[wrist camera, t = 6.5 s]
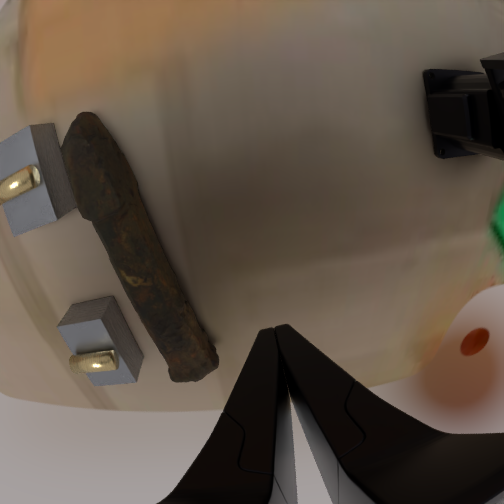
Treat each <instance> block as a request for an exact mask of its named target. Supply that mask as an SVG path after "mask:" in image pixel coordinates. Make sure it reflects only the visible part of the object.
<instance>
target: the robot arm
mask: <svg viewBox="0 0 504 504" xmlns="http://www.w3.org/2000/svg"><path fill="white" fill-rule="evenodd" d="M480 62H481V64H482V67H483V68H485V71H486V74H484V73H481V72H471V71H459V70H443V69H428V70H425V71H424V81H425V86H426V92H427V97H428V98H427V100H428V106H429V113H430V120H431V128H432V133H433V143H434V152H435V155H436V157H438V158H441V159H445V158H452V157H460V156H467V155H475V154H482V155H486V156H490V157H493V158H497V159H501V160H504V53H500V54H497V55H493V56H489V57H486V58H483V59H480ZM429 74H431V76H432V78H430V76H429ZM441 149H442V153H441V154H440V150H441ZM274 330H275V331H274ZM277 343H278V344H277ZM281 360H282V361H281ZM284 373H285V374H284ZM285 377H286V378H285ZM287 386H288V387H287ZM288 390H289V391H288ZM289 394H290V396H289ZM290 397H291V400H292V403H293V405H294V408H295V410H296V413H297V416H298V418H299V421H300V423H301V426H302V428H303V431H304V433H305V436H306V438H307V441H308V444H309V446H310V449H311V451H312V453H313V456H314V459H315V461H316V464H317V466H318V468H319V471H320V473H321V476H322V478H323V481H324V483H325V486H326V488H327V490H328V493H329V495H330V498H331V500H332V503H333V504H504V433H486V434H451V433H445V432H442V431H439V430H436V429H434V428H432V427H430V426H428V425H426V424H424V423H422V422H420V421H419V420H417V419H415V418H413V417H412V416H410V415H408V414H406V413H404V412H403V411H401V410H399V409H397V408H396V407H394V406H392V405H391V404H389V403H387V402H386V401H384V400H383V399H381V398H379V397H378V396H377V395H375V394H374V393H373V392H371V391H370V390H368V389H367V388H366V387H365V386H363V385H362V384H361V383H360V382H358V381H356V380H355V379H354V378H353V377H352V376H351V375H349V374H348V373H347V372H346V371H345V370H343V369H342V368H341V367H340V366H338V365H337V364H336V363H335V362H333V361H332V360H331V359H330V358H329V357H327V356H326V355H325V354H324V353H322V352H321V351H320V350H319V349H318V348H316V347H315V346H314V345H313V344H312V343H310V342H309V341H308V340H307V339H306V338H304V337H303V336H302V335H301V334H300V333H298V332H297V331H296V330H295V329H294V328H292V327H291V326H290V325H289V324H283V325H279V326H276V327H275V328H272V327H271V328H267V329H262V330H260V331H259V333H258V335H257V337H256V339H255V342H254V344H253V346H252V348H251V351H250V353H249V355H248V357H247V360H246V362H245V364H244V366H243V368H242V371H241V373H240V375H239V377H238V379H237V382H236V384H235V386H234V388H233V390H232V392H231V395H230V397H229V399H228V401H227V403H226V405H225V407H224V410H223V412H222V413H221V416H220V418H219V420H218V422H217V424H216V426H215V428H214V430H213V432H212V433H211V435H210V437H209V439H208V440H207V442H206V444H205V445H204V447H203V448H202V450H201V452H200V453H199V454H198V456H197V458H196V459H195V460H194V462H193V463H192V465H191V466H190V467H189V469H188V470H187V472H186V473H185V475H184V476H183V478H182V479H181V480H180V482H179V483H178V485H177V486H176V487H175V488H174V490H173V491H172V492H171V493H170V494H169V495H168V496H167V497H166V498H164V499H163V500H162V501H160V502H159V503H157V504H297V503H298V502H297V486H296V472H295V457H294V444H293V430H292V418H291V405H290Z"/></svg>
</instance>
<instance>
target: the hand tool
mask: <svg viewBox="0 0 504 504" xmlns="http://www.w3.org/2000/svg"><path fill="white" fill-rule="evenodd" d="M60 149H61V152H62V155H63V159H64V162H65V166H66V170H67V173H68V176H69V180H70V183H71V187H72V192H73V196H74V199H75V202H76V205H77V208H78V210H79V212H80V214H81V215H82V217H83V218H84V219H87V220H89V221H92V223H93V226H94V228H95V230H96V232H97V233H98V235H99V237H100V239H101V241H102V243H103V245H104V247H105V249H106V251H107V253H108V255H109V258H110V262H111V263H112V265H113V267H114V269H115V271H116V273H117V275H118V277H119V279H120V282H121V284H122V286H123V288H124V290H125V292H126V294H127V296H128V297H129V299H130V301H131V303H132V305H133V307H134V309H135V311H136V312H137V313H138V315H139V317H140V319H141V321H142V323H143V324H144V326H145V328H146V329H147V331H148V333H149V335H150V336H151V338H152V339H153V341H154V343H155V344H156V346H157V347H158V349H159V351H160V353H161V354H162V355H163V357H164V359H165V361H166V362H167V364H168V366H169V370H168V372H169V375H170V378H171V380H172V381H174V382H189V381H194V382H196V381H199V380H201V379H203V378H204V377H205V376H206V375H207V374H209V373H210V372H212V371H213V370H215V369H217V368H218V365H219V356H218V354H217V353H216V348H215V346H214V345H213V344H210V343H208V338H207V334H206V333H205V331H204V330H203V329H200V327H199V324H198V322H197V320H196V319H195V314H194V312H193V310H192V309H191V307H190V305H189V303H188V301H186V300H185V298H184V296H183V294H182V292H181V290H180V287H179V285H178V282H177V279H176V276H175V273H174V272H173V271H172V269H171V267H170V265H169V263H168V261H167V259H166V257H165V255H164V253H163V251H162V248H161V246H160V244H159V242H158V239H157V237H156V235H155V232H154V230H153V228H152V225H151V223H150V221H149V219H148V217H147V214H146V211H145V209H144V206H143V204H142V202H141V199H140V196H139V192H138V188H137V187H138V184H137V181H136V179H135V177H134V175H133V173H132V170H131V168H130V166H129V164H128V163H127V161H126V159H125V157H124V155H123V153H121V151H120V149H119V148H118V146H117V144H116V143H115V141H114V140H113V138H112V137H111V135H110V134H109V132H108V131H107V129H106V128H105V127H104V126H103V124H102V123H101V121H100V120H99V118H98V117H97V116H96V115H95V114H93V113H91V112H82V113H80V114H78V115H77V118H76V119H75V120H74V121H73V122H72V123H71V126H70V128H69V130H68V132H67V134H66V136H65V138H64V141H63V145H62V146H61V148H60Z"/></svg>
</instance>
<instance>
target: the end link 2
mask: <svg viewBox="0 0 504 504" xmlns="http://www.w3.org/2000/svg"><path fill="white" fill-rule="evenodd" d="M57 328H58V330H59V332H60V333H61V335H62V337H63V339H64V340H65V342H66V344H67V345H68V347H69V348H70V350H71V352H72V353H73V355H72V356H71V357H70V360H69V365H70V368H71V370H72V372H73V373H75V374H80V373H86V375H87V376H88V378H89V379H90V381H91V382H92V383H93V385H94V386H103V385H115V384H125V383H135V382H137V379H138V376H139V372H140V368H141V365H142V361H143V358H144V356H143V354H142V353H141V351H140V349H139V347H138V345H137V343H136V341H135V339H134V337H133V335H132V334H131V332H130V330H129V328H128V326H127V324H126V322H125V320H124V318H123V315H122V313H121V311H120V309H119V307H118V305H117V303H116V301H115V299H114V296H110V297H105V298H101V299H96V300H92V301H87V302H82V303H78V304H73V305H71V307H70V308H69V309H68V311H67V312H66V314H65V315H64V317H63V318H62V320H61V321H60V323H59V324H58V326H57Z"/></svg>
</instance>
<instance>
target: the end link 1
mask: <svg viewBox="0 0 504 504" xmlns="http://www.w3.org/2000/svg"><path fill="white" fill-rule="evenodd" d="M0 205H3V208H4V211H5V214H6V217H7V220H8V223H9V225H10V228H11V231H12V233H13V236H14V237H15V236H18V235H20V234H23V233H25V232H27V231H30V230H32V229H35V228H37V227H40V226H43V225H45V224H48V223H50V222H53V221H56V220H58V219H59V218H61V217H62V216H64V215H65V214H67V213H68V212H69V211H71V210H72V209H74V208H75V207H77V205H76V202H75V199H74V196H73V192H72V188H71V185H70V182H69V179H68V175H67V172H66V169H65V165H64V162H63V158H62V154H61V151H60V147H59V143H58V139H57V135H56V131H55V127H54V123H47V124H37V125H29V126H27V127H26V128H24V129H22V130H20V131H19V132H17V133H15V134H14V135H12V136H10V137H9V138H7V139H5V140H4V141H2V142H1V143H0Z"/></svg>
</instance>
